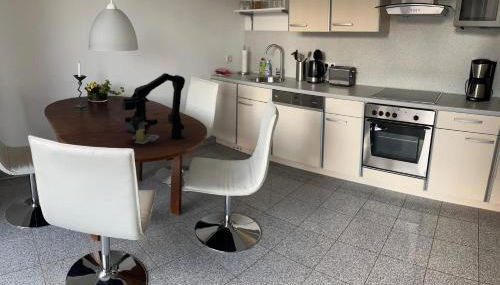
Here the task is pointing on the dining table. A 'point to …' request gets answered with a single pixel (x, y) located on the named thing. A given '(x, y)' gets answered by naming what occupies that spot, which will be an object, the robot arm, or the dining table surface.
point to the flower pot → (131, 128)
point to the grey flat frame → (151, 137)
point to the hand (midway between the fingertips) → (141, 134)
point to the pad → (142, 142)
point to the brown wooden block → (141, 135)
